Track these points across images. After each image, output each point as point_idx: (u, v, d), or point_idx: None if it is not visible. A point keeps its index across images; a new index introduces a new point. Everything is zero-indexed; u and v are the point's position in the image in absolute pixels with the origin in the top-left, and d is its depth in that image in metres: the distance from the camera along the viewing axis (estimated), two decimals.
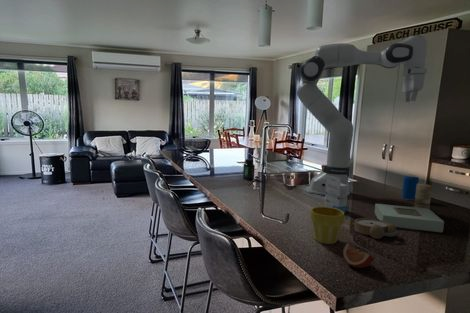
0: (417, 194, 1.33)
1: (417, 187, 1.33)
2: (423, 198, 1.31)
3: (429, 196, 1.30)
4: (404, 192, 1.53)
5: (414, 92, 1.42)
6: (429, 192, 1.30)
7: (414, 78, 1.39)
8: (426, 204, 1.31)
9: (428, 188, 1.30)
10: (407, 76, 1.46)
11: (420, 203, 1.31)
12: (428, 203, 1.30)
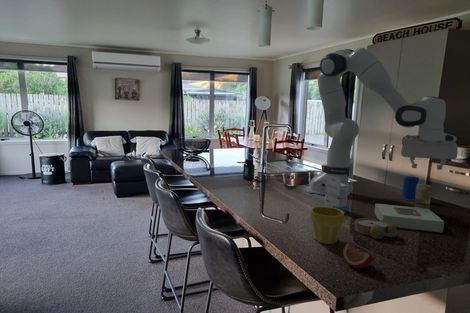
0: (417, 194, 1.33)
1: (417, 187, 1.33)
2: (423, 198, 1.31)
3: (429, 196, 1.30)
4: (404, 192, 1.53)
5: None
6: (429, 192, 1.30)
7: None
8: (426, 204, 1.31)
9: (428, 188, 1.30)
10: (435, 142, 1.26)
11: (420, 203, 1.31)
12: (428, 203, 1.30)
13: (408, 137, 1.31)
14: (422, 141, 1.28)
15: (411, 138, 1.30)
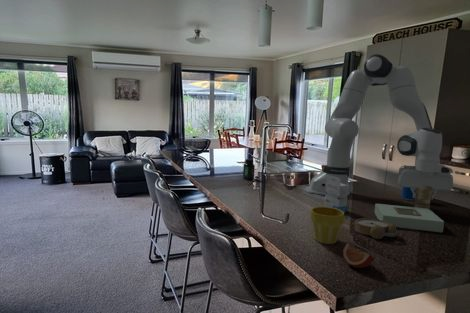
0: None
1: None
2: (423, 198, 1.31)
3: (429, 196, 1.30)
4: (404, 192, 1.53)
5: None
6: (429, 192, 1.30)
7: (452, 179, 1.27)
8: (426, 204, 1.31)
9: (428, 188, 1.30)
10: (432, 173, 1.28)
11: (420, 203, 1.31)
12: (428, 203, 1.30)
13: (405, 167, 1.33)
14: (418, 172, 1.30)
15: (408, 169, 1.32)
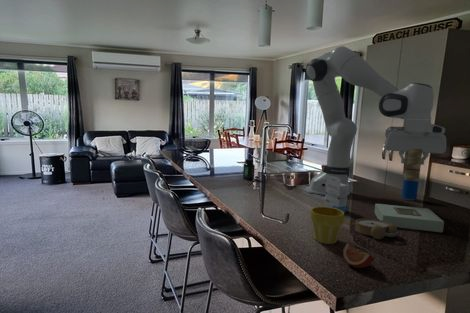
0: None
1: None
2: (412, 162, 1.15)
3: (419, 160, 1.15)
4: (404, 192, 1.53)
5: None
6: (419, 156, 1.15)
7: (445, 140, 1.12)
8: (416, 170, 1.15)
9: (418, 151, 1.14)
10: (422, 134, 1.13)
11: (409, 168, 1.16)
12: (418, 168, 1.15)
13: (392, 128, 1.17)
14: (407, 133, 1.15)
15: (395, 130, 1.17)
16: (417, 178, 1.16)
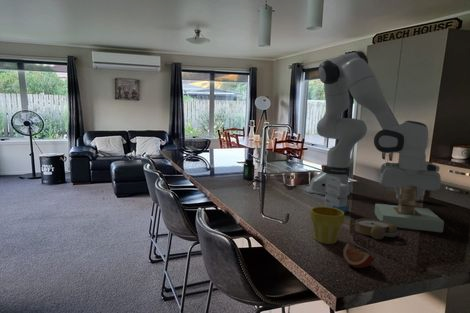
0: (401, 194, 1.20)
1: None
2: (407, 199, 1.17)
3: (414, 197, 1.16)
4: None
5: None
6: (414, 192, 1.16)
7: None
8: (410, 206, 1.17)
9: (413, 188, 1.16)
10: (417, 171, 1.15)
11: (404, 205, 1.18)
12: (413, 205, 1.17)
13: (387, 164, 1.19)
14: (402, 170, 1.17)
15: (390, 166, 1.19)
16: None
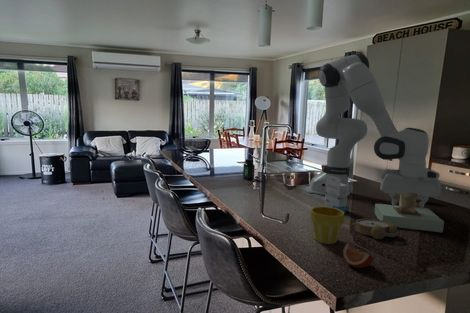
0: (401, 201, 1.21)
1: (401, 194, 1.21)
2: (407, 206, 1.18)
3: (414, 204, 1.17)
4: None
5: None
6: (414, 199, 1.17)
7: None
8: (410, 213, 1.18)
9: (413, 195, 1.17)
10: (417, 178, 1.15)
11: (404, 212, 1.18)
12: (413, 212, 1.18)
13: (388, 171, 1.20)
14: (402, 176, 1.17)
15: (391, 173, 1.19)
16: None
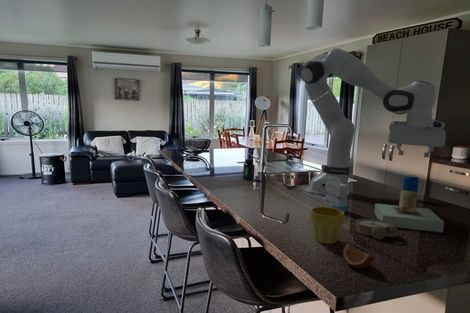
0: (401, 201, 1.21)
1: (401, 194, 1.21)
2: (407, 206, 1.18)
3: (414, 204, 1.17)
4: None
5: None
6: (414, 199, 1.17)
7: None
8: (410, 213, 1.18)
9: (413, 195, 1.17)
10: (423, 128, 1.22)
11: (404, 212, 1.18)
12: (413, 212, 1.18)
13: (396, 123, 1.27)
14: (410, 127, 1.24)
15: (399, 124, 1.26)
16: None
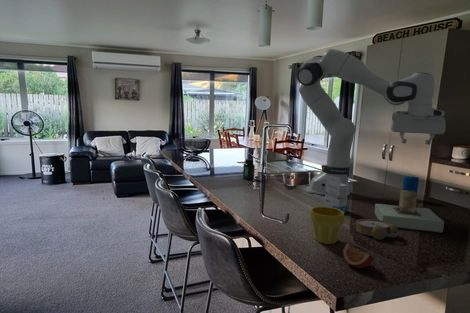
0: (401, 201, 1.21)
1: (401, 194, 1.21)
2: (407, 206, 1.18)
3: (414, 204, 1.17)
4: None
5: None
6: (414, 199, 1.17)
7: None
8: (410, 213, 1.18)
9: (413, 195, 1.17)
10: (424, 117, 1.30)
11: (404, 212, 1.18)
12: (413, 212, 1.18)
13: (398, 113, 1.34)
14: (411, 116, 1.32)
15: (401, 114, 1.34)
16: None
